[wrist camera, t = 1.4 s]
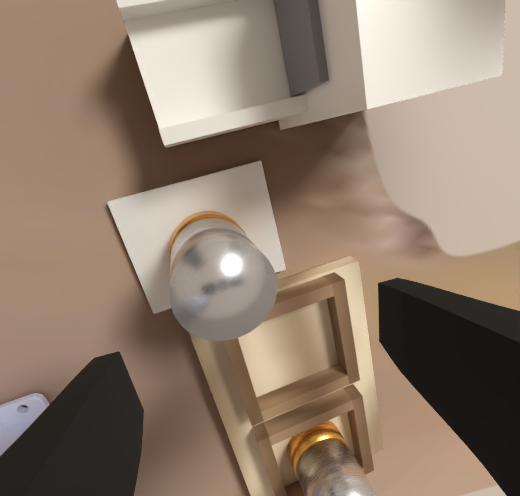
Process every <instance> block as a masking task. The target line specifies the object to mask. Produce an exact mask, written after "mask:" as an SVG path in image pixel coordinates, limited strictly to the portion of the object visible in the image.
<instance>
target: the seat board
mask: <svg viewBox="0 0 520 496" xmlns="http://www.w3.org/2000/svg"><path fill="white" fill-rule="evenodd" d="M189 334H190V337H191V340H192V342H193V345H194V348H195V350H196V353H197V356H198V358H199V361H200V363H201V366H202V369H203V371H204V374H205V377H206V379H207V382H208V385H209V387H210V390H211V393H212V395H213V398H214V400H215V403H216V406H217V408H218V411H219V414H220V416H221V419H222V422H223V424H224V427H225V429H226V432H227V435H228V437H229V440H230V443H231V445H232V448H233V451H234V453H235V456H236V458H237V461H238V464H239V466H240V469H241V472H242V474H243V477H244V480H245V482H246V485H247V487H248V490H249V493H250V495H251V496H305V495H304V493H303V490H302V488H301V485H300V482H299V480H298V478H297V477H296V474H295V471H294V469H293V466H292V464H291V461H290V458H289V456H288V452H287V448H288V443H289V441H290V439H291V437H292V436H294V435H297V434H299V433H301V432H303V431H306V430H308V429H310V428H312V427H315V426H317V425H319V424H321V423H324V422H326V421H331V422H333V423H334V424H335V425H336V426H337V428H338V430H339V431H340V433H341V435H342V436H343V438H344V440H345V441H346V443H347V445H348V447H349V449H350V451H351V453H352V454H353V456H354V458H355V459H356V461H357V463H358V464H359V466H360V468H361V469H362V471H363V473H364V474H368V473H370V472H372V471H374V467H373V460H372V454H374V453H376V452H378V451H380V450H382V449H384V448H383V440H382V433H381V425H380V418H379V410H378V403H377V395H376V388H375V380H374V373H373V365H372V358H371V350H370V343H369V335H368V328H367V320H366V313H365V305H364V298H363V290H362V283H361V275H360V268H359V261H358V260H357V259H355V258H353V257H351V256H348V257H345V258H342V259H339V260H336V261H333V262H330V263H327V264H325V265H322V266H319V267H316V268H313V269H310V270H307V271H304V272H301V273H298V274H296V275H293V276H290V277H287V278H284V279H281V280H278V281H277V296H276V300H275V303H274V305H273V308H272V310H271V311H270V313H269V315H268V316H267V317H266V319H265V320H264V321H263V322H262V323H261V324H260V325H259V326H258V327H257V328H255V329H254V330H253V331H251V332H249V333H248V334H246V335H243V336H241V337H239V338H235V339H232V340H226V341H212V340H206V339H202V338H199V337H197V336H195V335H193V334H191V333H190V332H189Z"/></svg>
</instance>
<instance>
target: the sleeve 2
mask: <svg viewBox="0 0 520 496" xmlns="http://www.w3.org/2000/svg"><path fill="white" fill-rule="evenodd" d="M287 452H288V456H289V458H290V461H291V464H292V466H293V469H294V471H295V474H296V477H297V478H298V480H299V482H300V485H301V488H302V490H303V493H304V495H305V496H377V494H376V493H375V491H374V489H373V488H372V486H371V484H370V483H369V481H368V479H367V478H366V476H365V474H364V473H363V471H362V469H361V468H360V466H359V464H358V463H357V461H356V459H355V458H354V456H353V454H352V453H351V451H350V449H349V447H348V445H347V443H346V441H345V440H344V438H343V436H342V435H341V433H340V431H339V430H338V428H337V426H336V425H335V424H334V423H333V422H331V421H326V422H324V423H321V424H319V425H317V426H315V427H312V428H310V429H308V430H306V431H303V432H301V433H299V434H297V435H294V436H292V437H291V439H290V441H289V443H288V448H287Z"/></svg>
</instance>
